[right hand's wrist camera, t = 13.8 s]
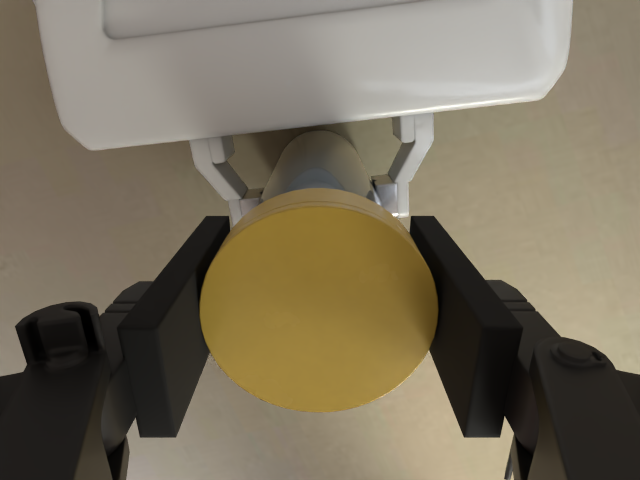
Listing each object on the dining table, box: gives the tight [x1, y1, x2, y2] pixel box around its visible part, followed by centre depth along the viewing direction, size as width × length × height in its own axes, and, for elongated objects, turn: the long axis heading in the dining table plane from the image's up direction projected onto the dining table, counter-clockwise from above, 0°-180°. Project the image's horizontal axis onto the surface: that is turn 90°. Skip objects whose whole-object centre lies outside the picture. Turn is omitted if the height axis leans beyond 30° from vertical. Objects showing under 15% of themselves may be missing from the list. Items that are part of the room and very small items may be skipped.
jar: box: [256, 130, 383, 207], centre depth 18 cm, size 5×5×16 cm
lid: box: [199, 188, 439, 412], centre depth 11 cm, size 6×6×2 cm
